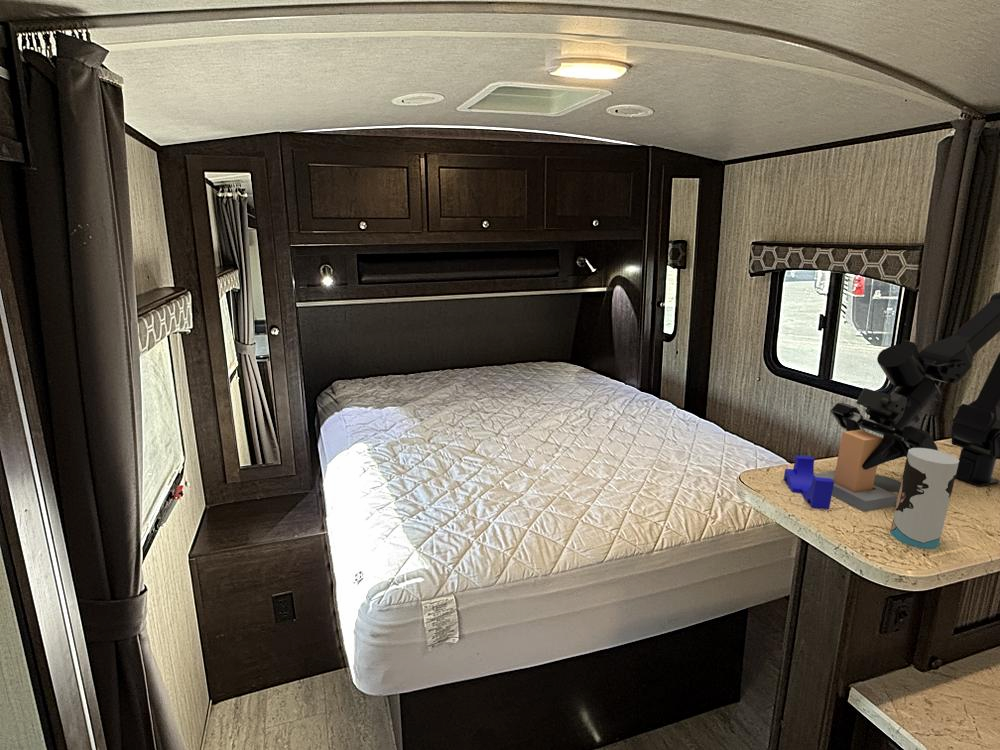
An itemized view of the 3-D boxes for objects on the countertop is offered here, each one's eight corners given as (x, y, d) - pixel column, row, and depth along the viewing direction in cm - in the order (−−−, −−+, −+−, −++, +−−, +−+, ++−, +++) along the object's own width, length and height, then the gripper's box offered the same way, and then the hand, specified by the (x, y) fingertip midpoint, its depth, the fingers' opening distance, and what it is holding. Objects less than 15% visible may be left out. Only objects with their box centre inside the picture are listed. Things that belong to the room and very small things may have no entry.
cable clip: (783, 482, 122) (787, 454, 120) (806, 484, 121) (811, 456, 120) (801, 510, 110) (807, 479, 109) (828, 512, 110) (834, 482, 108)
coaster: (878, 475, 127) (879, 472, 127) (916, 491, 119) (916, 488, 119) (850, 479, 124) (850, 476, 124) (886, 496, 117) (887, 493, 117)
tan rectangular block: (849, 487, 119) (860, 429, 116) (870, 498, 115) (883, 438, 112) (831, 490, 117) (842, 431, 114) (852, 501, 113) (864, 440, 110)
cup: (936, 537, 102) (956, 453, 98) (940, 555, 96) (962, 467, 92) (889, 526, 105) (906, 444, 101) (890, 543, 100) (909, 457, 96)
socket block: (839, 481, 123) (841, 469, 122) (894, 508, 112) (897, 495, 111) (808, 486, 120) (811, 474, 120) (862, 514, 109) (865, 501, 109)
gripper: (846, 362, 120) (793, 420, 119) (941, 388, 103) (881, 456, 102) (867, 398, 125) (817, 454, 124) (962, 428, 108) (904, 493, 107)
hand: (851, 462), depth 114 cm, fingers closed on tan rectangular block, 5 cm apart
